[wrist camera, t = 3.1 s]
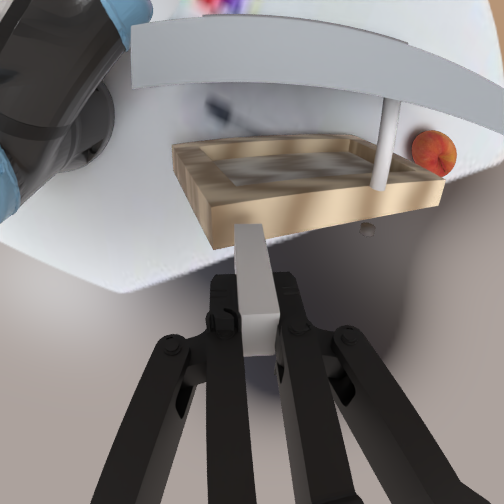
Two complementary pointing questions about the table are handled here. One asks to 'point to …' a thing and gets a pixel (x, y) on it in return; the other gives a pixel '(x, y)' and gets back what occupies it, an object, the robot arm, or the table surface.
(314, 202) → the frame
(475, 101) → the panel
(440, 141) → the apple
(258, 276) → the robot arm
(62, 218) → the table surface
